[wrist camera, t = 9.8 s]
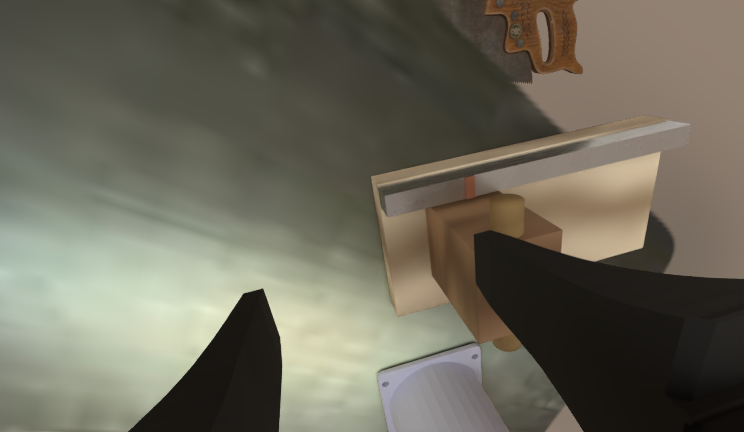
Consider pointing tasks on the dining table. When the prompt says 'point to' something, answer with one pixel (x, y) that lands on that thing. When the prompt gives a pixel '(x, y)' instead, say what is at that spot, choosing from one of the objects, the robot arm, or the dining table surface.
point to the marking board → (530, 196)
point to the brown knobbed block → (457, 261)
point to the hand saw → (518, 33)
